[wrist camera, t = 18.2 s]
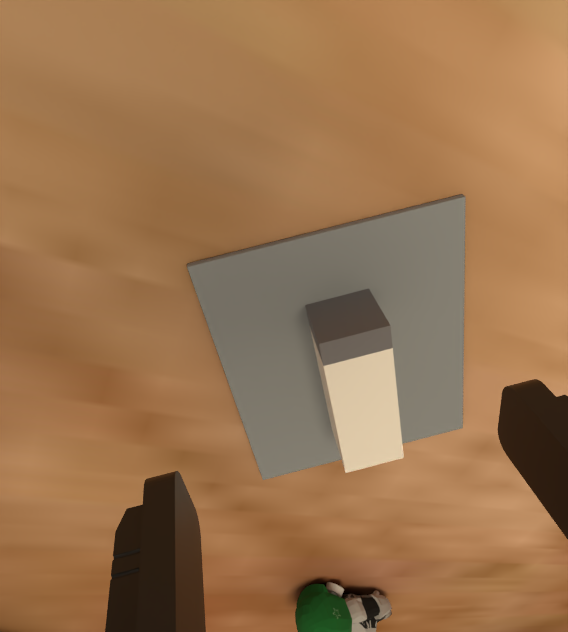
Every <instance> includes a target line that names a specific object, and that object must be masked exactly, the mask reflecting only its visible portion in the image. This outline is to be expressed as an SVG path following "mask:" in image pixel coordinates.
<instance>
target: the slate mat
mask: <svg viewBox="0 0 568 632" xmlns="http://www.w3.org/2000/svg"><path fill="white" fill-rule="evenodd" d="M187 268H188V271H189V274H190V277H191V280H192V282H193V285H194V288H195V291H196V294H197V296H198V299H199V302H200V305H201V307H202V310H203V313H204V316H205V319H206V321H207V324H208V327H209V330H210V333H211V335H212V338H213V341H214V344H215V347H216V349H217V352H218V355H219V358H220V361H221V363H222V366H223V369H224V372H225V375H226V377H227V380H228V383H229V386H230V389H231V391H232V394H233V397H234V400H235V403H236V405H237V408H238V411H239V414H240V417H241V419H242V422H243V425H244V428H245V431H246V433H247V436H248V439H249V442H250V445H251V447H252V450H253V453H254V456H255V459H256V461H257V464H258V467H259V470H260V473H261V475H262V478H263V480H265V479H269V478H273V477H277V476H280V475H284V474H288V473H292V472H296V471H300V470H303V469H307V468H311V467H315V466H319V465H323V464H326V463H330V462H334V461H338V460H342V459H341V456H340V453H339V450H338V447H337V444H336V440H335V437H334V434H333V431H332V427H331V423H330V418H329V413H328V409H327V404H326V400H325V395H324V390H323V386H322V381H321V376H320V372H319V367H318V363H317V358H316V353H315V349H314V344H313V339H312V335H311V330H310V326H309V321H308V316H307V312H306V307H305V305H307V304H311V303H315V302H319V301H322V300H326V299H330V298H334V297H338V296H342V295H346V294H349V293H353V292H357V291H361V290H365V289H369V290H370V291H371V293H372V295H373V296H374V298H375V300H376V302H377V303H378V305H379V307H380V308H381V310H382V312H383V314H384V315H385V317H386V319H387V320H388V322H389V324H390V325H391V335H392V345H393V356H394V366H395V376H396V386H397V396H398V406H399V416H400V426H401V436H402V444H403V443H407V442H411V441H415V440H418V439H422V438H426V437H430V436H434V435H438V434H441V433H445V432H449V431H453V430H457V429H461V428H463V360H464V273H465V196H464V195H463V194H461V195H457V196H453V197H449V198H445V199H441V200H437V201H433V202H429V203H425V204H421V205H417V206H413V207H409V208H405V209H401V210H398V211H394V212H390V213H386V214H382V215H378V216H374V217H370V218H366V219H362V220H358V221H354V222H350V223H346V224H342V225H338V226H334V227H330V228H326V229H322V230H319V231H315V232H311V233H307V234H303V235H299V236H295V237H291V238H287V239H283V240H279V241H275V242H271V243H267V244H263V245H259V246H255V247H251V248H247V249H243V250H240V251H236V252H232V253H228V254H224V255H220V256H216V257H212V258H208V259H204V260H200V261H196V262H192V263H188V264H187Z"/></svg>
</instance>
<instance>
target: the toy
mask: <svg viewBox="0 0 568 632" xmlns="http://www.w3.org/2000/svg"><path fill="white" fill-rule="evenodd" d="M343 592H344V589H343V588H342V587H340V586H338V585H337V584H334V583H331V582H327V584H326V587H325V585H323V584H312V585H310V586H307V587H306V588H305V589H304V590H303V591H302V592H301V594H300V596H299V598H298V601H297V609H296V612H295V617H296V625H297V630H298V632H376V626H377V623H378V622H379V621H381V620H382V619H386V618H388V617H389V616H390V615H391V614H392V613H391V609H392V608H391V604H390V602H389V600H388V599H387V598H386V597H385V596H383V595H379V594H380V593H379V592H378V591H377V590H375V591H374V592H373V593H372V594H371V595H368V596H367V595H354V594H352V593H351V594H345V595H342V594H343Z"/></svg>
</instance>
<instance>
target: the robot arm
mask: <svg viewBox="0 0 568 632" xmlns="http://www.w3.org/2000/svg"><path fill="white" fill-rule="evenodd" d="M498 435H499V440H500V443H501V445H502V447H503V449H504V451H505V453H506V454H507V456H508V457H509V459H510V460H511V461H512V463H513V464H514V466H515V467H516V468H517V470H518V471H519V473H520V474H521V475H522V477H523V478H524V479H525V481H526V482H527V484H528V485H529V486H530V488H531V489H532V491H533V492H534V493H535V495H536V496H537V497H538V499H539V500H540V502H541V503H542V504H543V506H544V507H545V509H546V510H547V511H548V513H549V514H550V516H551V517H552V518H553V520H554V521H555V522H556V524H557V525H558V527H559V528H560V529H561V531H562V532H563V534H564V535H565V536H566V538H567V539H568V396H566V395H562V396H559V397H556V396H555V395H554V394H553V393H552V392H551V391H550V390H549V389H548V388H547V387H546V386H545V385H544V384H543V383H542V382H541V381H539V380H536V379H534V380H530V381H526V382H522V383H518V384H514V385H511V386H507V387H505V388H504V389H503V392H502V399H501V407H500V415H499V423H498ZM113 556H114V560H113V562H112V571H111V576H112V580H111V581H110V591H109V600H108V610H107V619H106V629H105V632H206V629H205V610H204V591H203V572H202V553H201V535H200V526H199V521H198V516H197V513H196V509H195V507H194V505H193V502H192V500H191V498H190V495H189V493H188V491H187V489H186V486H185V484H184V482H183V479H182V477H181V475H180V473H179V472H178V471H175V472H171V473H167V474H164V475H160V476H156V477H152V478H148V479H146V480H145V483H144V494H143V505H140V506H136V507H132V508H128V509H127V510H126V512H125V514H124V516H123V518H122V520H121V522H120V524H119V526H118V528H117V530H116V533H115V542H114V552H113Z"/></svg>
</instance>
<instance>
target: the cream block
mask: <svg viewBox="0 0 568 632" xmlns="http://www.w3.org/2000/svg"><path fill="white" fill-rule="evenodd" d="M305 307H306V312H307V316H308V321H309V326H310V330H311V335H312V339H313V344H314V349H315V353H316V358H317V363H318V367H319V372H320V376H321V381H322V386H323V390H324V395H325V400H326V404H327V409H328V413H329V418H330V423H331V427H332V431H333V434H334V437H335V440H336V444H337V447H338V450H339V453H340V456H341V459H342V463H343V466H344V469H345V472H346V473H348V472H352V471H355V470H359V469H363V468H367V467H371V466H374V465H378V464H382V463H386V462H389V461H393V460H397V459H401V458H404V456H403V446H402V436H401V426H400V416H399V406H398V396H397V386H396V376H395V366H394V356H393V345H392V335H391V325H390V324H389V322H388V320H387V319H386V317H385V315H384V314H383V312H382V310H381V308H380V307H379V305H378V303H377V302H376V300H375V298H374V296H373V295H372V293H371V291H370V290H369V289H365V290H361V291H357V292H353V293H349V294H346V295H342V296H338V297H334V298H330V299H326V300H322V301H319V302H315V303H311V304H307V305H305Z"/></svg>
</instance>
